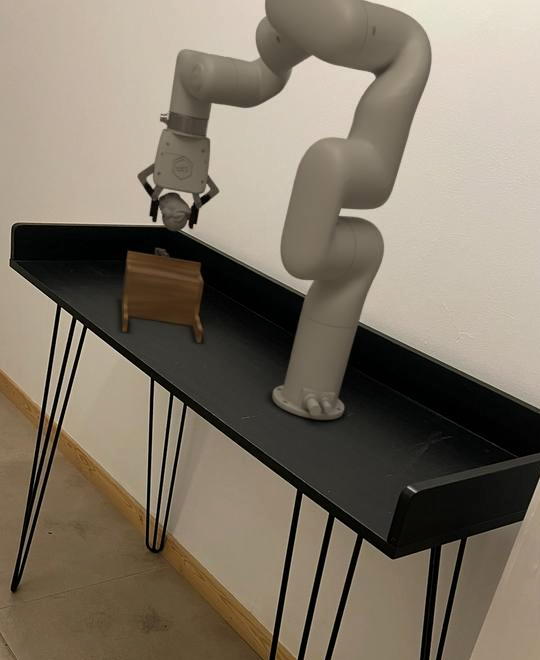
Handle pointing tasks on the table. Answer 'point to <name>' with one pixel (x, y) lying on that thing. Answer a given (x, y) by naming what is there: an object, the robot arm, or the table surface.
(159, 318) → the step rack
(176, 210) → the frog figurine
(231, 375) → the table surface
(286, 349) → the table surface
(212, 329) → the table surface
